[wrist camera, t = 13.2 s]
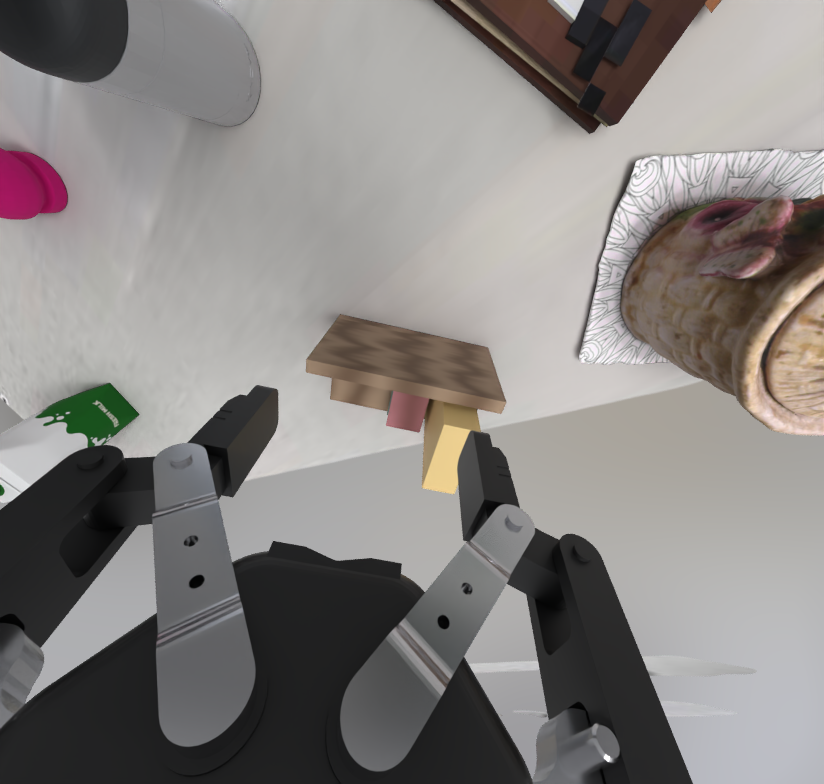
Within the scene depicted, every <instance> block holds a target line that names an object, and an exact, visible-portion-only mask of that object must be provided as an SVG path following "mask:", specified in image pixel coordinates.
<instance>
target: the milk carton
mask: <svg viewBox="0 0 824 784" xmlns="http://www.w3.org/2000/svg"><path fill="white" fill-rule="evenodd" d="M138 415H139V414H138V413H137V412H136V411H135V409H134V408H133V407H132V406H131V405H130V404H129V403H128V402H127V401H126V400H125V399H124V398H123V397H122V396H121V395H120V393H119V392H118V391H117V390H116V389H115V388H114V387H113V386H112V385H111V384H110V383H109V384H106V385H103V386H100V387H97V388H94V389H91V390H88V391H85V392H82V393H79V394H76V395H74V396H71V397H68V398H66V399H63V400H60V401H58V402H56V403H54V404H52V405H50V406H48V407H47V408H45V409H43V410H41V411H39V412H38V413H36V414H34V415H32V416H31V417H29V418H27V419H25V420H23V421H22V422H20V423H18V424H16V425H15V426H13V427H11V428H9V429H7V430H6V431H4V432H2V433H0V502H1V503H5V502H9V501H12V500H13V499H15V498H16V497H17V496H18V495H20V494H21V493H22V492H23V491H25V490H26V489H27V488H28V487H30V486H31V485H32V484H33V483H35V482H36V481H37V480H38V479H40V478H41V477H42V476H43V475H45V474H46V473H47V472H48V471H50V470H51V469H52V468H53V467H55V466H56V465H57V464H58V463H60V462H61V461H62V460H63V459H65V458H66V457H67V456H69V455H71V454H72V453H74V452H76V451H79V450H81V449H84V448H88V447H92V446H99V445H103V444H105V443H106V442H107V441H108V440H110V439H111V438H112V437H113V436H114V435H116V434H117V433H118V432H119V431H120V430H122V429H123V428H124V427H125V426H126V425H128V424H129V423H130V422H131V421H132V420H133V419H135V418H136V417H137V416H138Z"/></svg>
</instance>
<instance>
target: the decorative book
mask: <svg viewBox="0 0 824 784" xmlns="http://www.w3.org/2000/svg"><path fill="white" fill-rule="evenodd" d="M434 1H435V2H436V3H437V4H438V5H440V6H441V7H442V8H443V9H444V10H445V11H447V12H448V13H449V14H450V15H451V16H452V17H454V18H455V19H456V20H457V21H458V22H459V23H461V24H462V25H463V26H464V27H465V28H466V29H468V30H469V31H470V32H471V33H472V34H473V35H475V36H476V37H477V38H478V39H479V40H480V41H482V42H483V43H484V44H485V45H486V46H488V47H489V48H490V49H491V50H492V51H493V52H495V53H496V54H497V55H498V56H499V57H500V58H502V59H503V60H504V61H505V62H506V63H507V64H509V65H510V66H511V67H512V68H513V69H514V70H516V71H517V72H518V73H519V74H520V75H521V76H523V77H524V78H525V79H526V80H527V81H528V82H530V83H531V84H532V85H533V86H534V87H536V88H537V89H538V90H539V91H540V92H541V93H543V94H544V95H545V96H546V97H547V98H548V99H550V100H551V101H552V102H553V103H554V104H555V105H557V106H558V107H559V108H560V109H561V110H562V111H564V112H565V113H566V114H567V115H568V116H569V117H571V118H572V119H573V120H574V121H575V122H576V123H578V124H579V125H580V126H581V127H582V128H584V129H585V130H586V131H587V132H588V133H589V134H590V133H592V132H595V130H596V129H597V127H598V126H599V124H600V123H602V124H603V125H605V126H606V127H607V126H612V125H614V124H617V123H619V121H620V120H621V118H622V117H623V116H624V114H625V113H626V111H627V110H628V109H629V107H630V106H631V105H632V103H633V102H634V100H635V99H636V98H637V96H638V95H639V94H640V92H641V91H642V89H643V88H644V87H645V85H646V84H647V83H648V81H649V80H650V78H651V77H652V76H653V74H654V73H655V71H656V70H657V69H658V67H659V66H660V65H661V63H662V62H663V60H664V59H665V58H666V56H667V55H668V54H669V52H670V51H671V49H672V48H673V47H674V45H675V44H676V43H677V41H678V40H679V38H680V37H681V36H682V34H683V33H684V31H685V30H686V29H687V27H688V26H689V25H690V23H691V22H692V20H693V19H694V18H695V16H696V15H697V14H698V12H699V11H700V9H701V8H702V7H703V5H704V4H705V5H706V6H707V8H708V9H709V11H710V12H711V13H712V11H713V10H714V9H715V8H716V7H717V5H718V4H719V3H720V2H721V1H722V0H434Z"/></svg>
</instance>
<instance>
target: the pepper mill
mask: <svg viewBox="0 0 824 784" xmlns="http://www.w3.org/2000/svg"><path fill="white" fill-rule="evenodd" d="M66 204H67V192H66V189H65V186H64V184H63V182H62V180H61V178H60V177H59V175H58V174H57V173H56V171H55V170H54V169H53V168H52V167H51V166H50V165H49V164H48V163H47V162H45V161H44V160H43V159H41V158H40V157H38V156H36V155H34V154H31V153H28V152H19V151H5V150H3V149H1V148H0V218H6V219H30V218H32V217H35V216H36V215H37V214H38V213H56V212H60V211H62V210H63V209H64V208H65V207H66Z"/></svg>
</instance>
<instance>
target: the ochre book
mask: <svg viewBox="0 0 824 784" xmlns="http://www.w3.org/2000/svg"><path fill="white" fill-rule="evenodd" d="M471 430H473V431H478V432H481V430H480V425H479V420H478V414H477V409H476V408H471V407H467V406H462V405H457V404H452V403H448V402H443V401H438V400H434V399H429V402H428V405H427V408H426V412H425V429H424V452H423V476H422V488H425V489H430V490H435V491H440V492H445V493H450V494H454V493H455V491H456V488H457V486H458V474H457V465H458V460H459V456H460V454H461V451H462V449H463V446H464V444H465V441H466V439H467V436H468V434H469V432H470V431H471Z"/></svg>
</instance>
